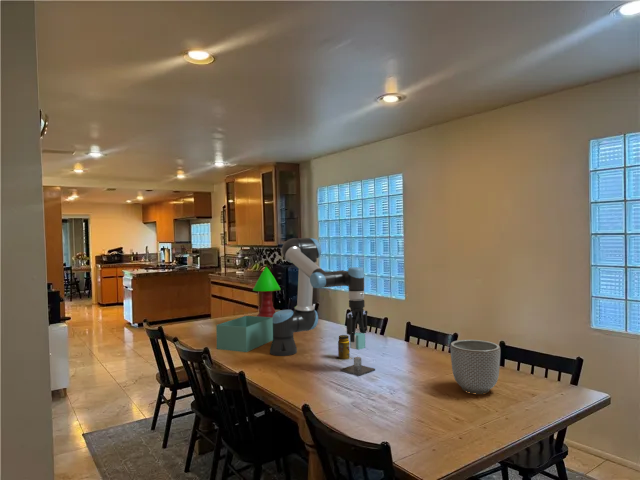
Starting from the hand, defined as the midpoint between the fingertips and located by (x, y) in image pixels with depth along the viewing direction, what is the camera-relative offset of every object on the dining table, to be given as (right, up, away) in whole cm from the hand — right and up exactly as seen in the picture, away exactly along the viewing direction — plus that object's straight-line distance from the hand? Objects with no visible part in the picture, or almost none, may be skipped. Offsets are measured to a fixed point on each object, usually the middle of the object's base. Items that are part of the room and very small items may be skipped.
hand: (357, 347), depth 215 cm
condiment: (-6, -12, +23) cm, 26 cm away
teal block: (0, 0, 0) cm, 0 cm away
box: (-63, -12, +57) cm, 86 cm away
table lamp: (-55, -12, +99) cm, 114 cm away
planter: (+47, -11, -29) cm, 56 cm away
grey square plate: (0, -11, 0) cm, 11 cm away
